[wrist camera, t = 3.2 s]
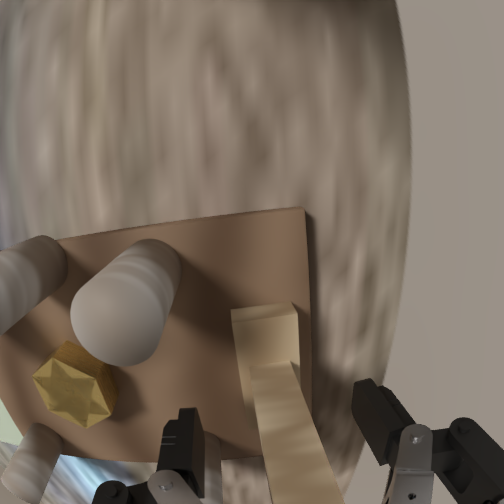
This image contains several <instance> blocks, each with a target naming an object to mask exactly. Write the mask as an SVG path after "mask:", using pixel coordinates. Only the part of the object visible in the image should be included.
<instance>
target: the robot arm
mask: <svg viewBox="0 0 504 504" xmlns="http://www.w3.org/2000/svg"><path fill="white" fill-rule="evenodd" d="M352 413H353V417H354V419H355V421H356V423H357V424H358V426H359V428H360V430H361V432H362V434H363V435H364V437H365V439H366V441H367V443H368V445H369V446H370V448H371V450H372V452H373V454H374V456H375V457H376V459H377V461H378V463H379V465H380V466H382V465H384V464H389V466H390V467H391V468H390V471H389V475H388V479H387V484H386V488H385V493H384V497H383V501H382V504H431V499H432V490H433V480H434V473H436V475H437V476H438V477H439V479H440V480H441V481H442V483H443V484H444V485H445V487H446V488H447V489H448V491H449V492H450V494H451V495H452V496H453V497H454V499H455V500H456V502H457V503H458V504H504V450H503V449H502V448H501V447H500V446H499V445H498V444H497V443H496V442H495V441H494V440H493V439H492V438H491V437H490V436H489V435H488V434H487V433H486V432H485V431H484V430H483V429H482V428H481V427H480V426H479V425H478V424H477V423H476V422H475V421H474V420H472V419H470V418H465V417H462V418H457V419H455V420H454V421H453V422H452V423H451V425H450V427H449V428H446V429H439V430H430V428H428V427H427V426H425V425H421V424H416V423H415V421H414V420H413V419H412V417H411V416H410V415H409V413H408V412H407V411H406V409H405V408H404V407H403V405H402V404H401V403H400V401H399V400H398V399H397V398H396V396H395V395H394V394H393V392H392V391H391V390H389V389H388V388H386V387H384V386H383V385H382V386H379V387H377V386H376V384H375V383H374V381H373V380H372V379H371V378H368V379H365V380H361V381H357V382H355V383H354V387H353V398H352ZM204 498H205V436H204V431H203V427H202V424H201V420H200V417H199V413H198V410H197V408H196V407H191V408H180V409H179V414H178V419H175V420H169V421H168V422H167V424H166V425H165V426H164V428H163V434H162V440H161V446H160V452H159V458H158V464H157V470H156V472H155V473H154V474H152V475H151V476H150V478H149V479H148V481H147V482H144V483H141V484H137V485H132V486H127V487H126V485H125V484H123V483H122V482H119V481H115V480H111V481H106V482H104V483H102V484H101V485H100V486H99V487H98V488H97V490H96V492H95V495H94V498H93V501H92V504H203V503H202V502H201V501H200V499H204Z"/></svg>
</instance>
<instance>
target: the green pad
mask: <svg viewBox="0 0 504 504" xmlns="http://www.w3.org/2000/svg"><path fill="white" fill-rule="evenodd" d="M23 438H24V437H23V436H22V434H21V433H20V431H19V429H18V428H17V426H16V425H15V423H14V421H13V420H12V418H11V416H10V415H9V413H8V411H7V410H6V408H5V406H4V404H3V402H2V401H1V399H0V441H2V442H6V443H10V444H14V445H18V446H19V444H20V443H21V441H22V439H23Z"/></svg>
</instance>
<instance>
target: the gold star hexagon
mask: <svg viewBox="0 0 504 504" xmlns="http://www.w3.org/2000/svg"><path fill="white" fill-rule="evenodd" d="M32 378H33V381H34V383H35V385H36V387H37V389H38V391H39V393H40V395H41V397H42V399H43V401H44V403H45V405H46V407H47V408H48V410H49V411H50V412H52V413H54V414H56V415H58V416H60V417H62V418H64V419H66V420H68V421H70V422H72V423H75V424H77V425H79V426H81V427H83V428H85V429H87V428H89V427H90V426H92V425H94V424H96V423H98V422H99V421H101V420H103V419H105V418H107V417H108V416H110V415H111V414H112V411H113V409H114V406H115V404H116V401H117V399H118V396H119V391H118V389H117V386H116V384H115V381H114V378H113V376H112V373H111V370H110V368H109V365H108V363H105V362H103V361H101V360H99V359H97V358H96V357H94V356H93V355H92V354H90V353H89V352H88V351H87V350H86V349H85V348H83V347H81V346H79V345H76V344H74V343H72V342H70V341H68V340H66V341H65V342H64V343H63V344H62V345H60V346H59V347H58V348H57V349H56V350H55V351H54V352H52V353H51V354H50V355H49V356H48V357H47V358H46V359H45V360H44V361H43V362H42V364H41V365H40V366H39V367H38V369H37V370H36V371H35V372H34V374H33V375H32Z"/></svg>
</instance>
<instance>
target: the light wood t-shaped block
mask: <svg viewBox="0 0 504 504" xmlns="http://www.w3.org/2000/svg"><path fill="white" fill-rule="evenodd" d="M231 320H232V328H233V335H234V342H235V348H236V355H237V361H238V368H239V374H240V380H241V387H242V393H243V399H244V405H245V411H246V417H247V423H248V429H249V430H251V429H259V435H260V440H261V446H262V452H263V457H264V463H265V468H266V474H267V479H268V484H269V490H270V495H271V500H272V504H345V503H344V500H343V498H342V495H341V492H340V490H339V487H338V485H337V482H336V479H335V477H334V474H333V472H332V469H331V467H330V464H329V461H328V459H327V456H326V454H325V451H324V448H323V446H322V443H321V441H320V438H319V436H318V433H317V430H316V428H315V425H314V423H313V420H312V417H311V415H310V412H309V410H308V407H307V404H306V402H305V399H304V397H303V394H302V391H301V384H300V355H299V333H298V313H297V312H296V310H295V308H294V306H293V305H292V303H291V301H289V302H282V303H275V304H268V305H261V306H254V307H246V308H238V309H231Z"/></svg>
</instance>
